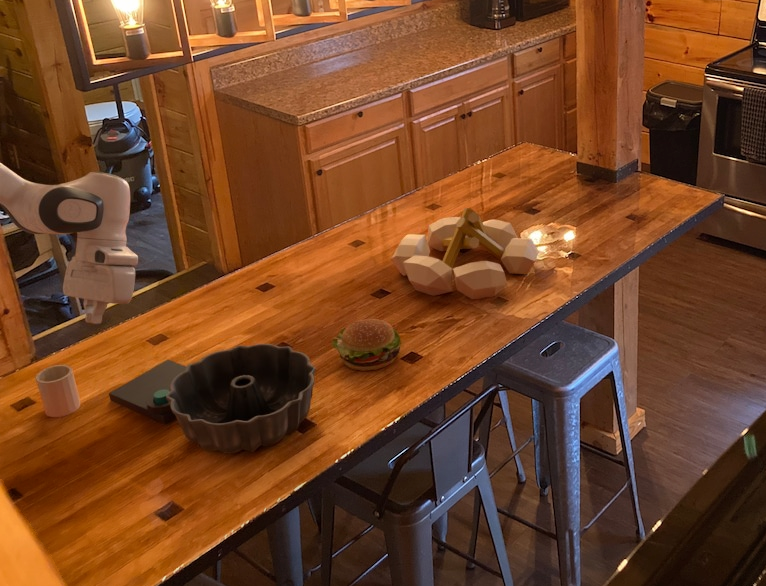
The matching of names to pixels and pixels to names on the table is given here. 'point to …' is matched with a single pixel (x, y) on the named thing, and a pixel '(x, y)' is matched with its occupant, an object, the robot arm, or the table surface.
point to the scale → (149, 392)
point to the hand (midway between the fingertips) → (93, 323)
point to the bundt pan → (243, 397)
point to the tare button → (160, 396)
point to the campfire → (451, 238)
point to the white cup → (58, 390)
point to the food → (368, 344)
